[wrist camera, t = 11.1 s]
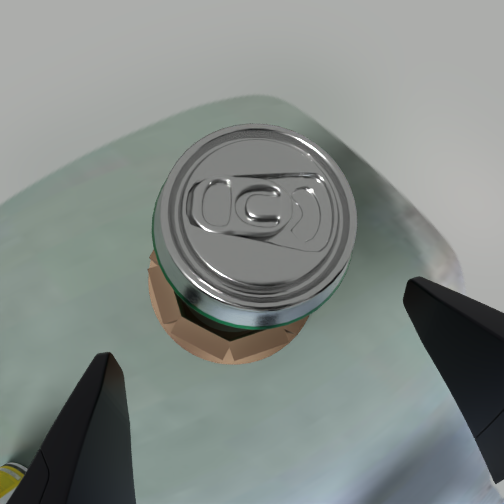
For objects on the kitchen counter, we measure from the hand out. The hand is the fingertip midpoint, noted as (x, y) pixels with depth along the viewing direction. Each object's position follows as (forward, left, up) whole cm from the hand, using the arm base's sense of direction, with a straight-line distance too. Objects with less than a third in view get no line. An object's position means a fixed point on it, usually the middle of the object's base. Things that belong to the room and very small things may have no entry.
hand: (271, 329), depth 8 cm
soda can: (+2, -2, -10) cm, 10 cm away
